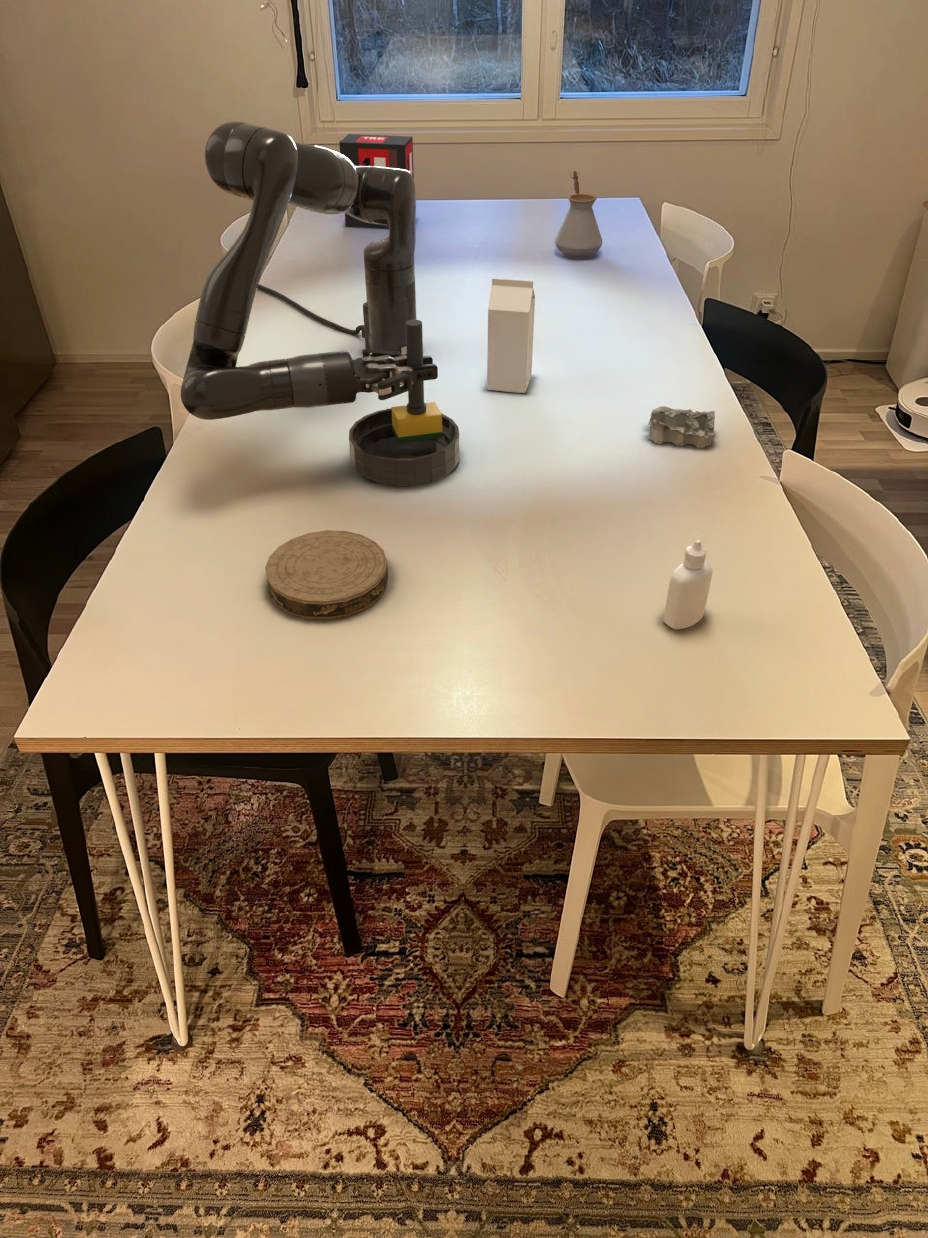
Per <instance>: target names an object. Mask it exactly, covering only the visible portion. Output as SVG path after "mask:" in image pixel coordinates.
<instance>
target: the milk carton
mask: <svg viewBox="0 0 928 1238" xmlns="http://www.w3.org/2000/svg"><path fill="white" fill-rule="evenodd" d="M534 290H535V289H534V280H521V279H509V278H495V277H493V278H491V289H490V295H489V300H488V306H487V352H486V353H487V356H486V357H487V358H486V359H487V361H486V390H488V391H494V392H495V391H497V392H506V393H518V394H519V393H520V394H526V393H527V390H528V387H529V384H530V383H531V379H532V371H533V351H534V350H533V349H534V332H535V331H534V327H535V307H536V295H535V291H534Z"/></svg>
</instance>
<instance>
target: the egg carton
mask: <svg viewBox="0 0 928 1238" xmlns="http://www.w3.org/2000/svg"><path fill="white" fill-rule="evenodd" d="M715 420H716V413H715V410H711V411H702V412H701V411H698V410H696V411H693V410H692V409H691V408H690V409H680V408H675V409H674V408H671V407H668V406H659V407H656V408H654V409H652V410H651V413H650V418H649V420H648V424H647V425H648V426H649V428H648V429H649V432H648V439H647V440H649V441H652V442H654V444H656V445H657V444H658V445H661V444H663V443H673V444H674V445H675V446H677V447H678V446H680V447H681V446H682V447H683V446H684V445H693V446H695V447H696V448H697V449H704V448H705V447H709V446H711V445H712V440H713V436H714V435H715V423H716V422H715Z"/></svg>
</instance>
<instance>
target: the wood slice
mask: <svg viewBox="0 0 928 1238" xmlns="http://www.w3.org/2000/svg"><path fill="white" fill-rule="evenodd" d="M265 574H266V581H267V587H268V593H269V598H270V599H271V600H272V602H273V603H274V604H275V605H276V607H277V608H279V609H281V610H282V611H284V612H285V613H287V614H289V615H291V616H294V617H295V616H296V617H299V618H303V619H305V620H306V619H307V620H320V621H321V620H324V621H325V620H326V621H329V620H336V619H341V618H347V617H351V616H353V615H355V614H358V613H360V612H363V611H365V610H367V609H368V608H370V607H371V606H372V605H374V604H375V603H377V602H378V601H379V600H380V599H381V597H382V596H383V594H384V593H385V592H386V591H387V586H388V581H389V571H388V559H387V557H386V554H385V551H384V549H383V548H382V547H381V546H380V545H379V544H378V543H377V541H375V540H374V539H371V538H369V537H367V536H365V535H363V534H359V533H355V532H352V531H348V530H320V531H313V532H307V533H305V534H301V535H298V536H295V537H293V538H291V539H289V540H288V541H285V542H284V543H283V544H281V545H279V546H278V547H277V548H275V550H274V551H273V552H272V553H271V554H270V555H269V556H268V559H267V562H266V565H265Z"/></svg>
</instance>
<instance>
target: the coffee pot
mask: <svg viewBox="0 0 928 1238" xmlns="http://www.w3.org/2000/svg"><path fill="white" fill-rule="evenodd" d="M572 174H573V176H572ZM569 176H570V178H571V179H573V188H574V193H573V194H570V195H568V196H567V200H568V201H569V208H568V210H567V212H566V214H565V216H564V219H563V221H562V224H561V225H560V227H559V230H558V232H557V233H556V236H555V238H554V245H555V247H556V249H557V250H558V251H559V252H560V253H561V254H562V256H564V257H566V258H569V259H578V260H580V259H588V258H591V257H593V256H594V254H596V253H597V252H598V251H599V250H600V249H601V247H602V246H603V238H602V234H601V232H600V229H599V225H598V222H597V218H596V216H595V212H594V210H593V206H594V204H595V202H596V201H597V196H594V195H592V194H587V193H580V182H579V178H580V173H579V172H578V171H576V170H574V171H572V172H570V175H569Z"/></svg>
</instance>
